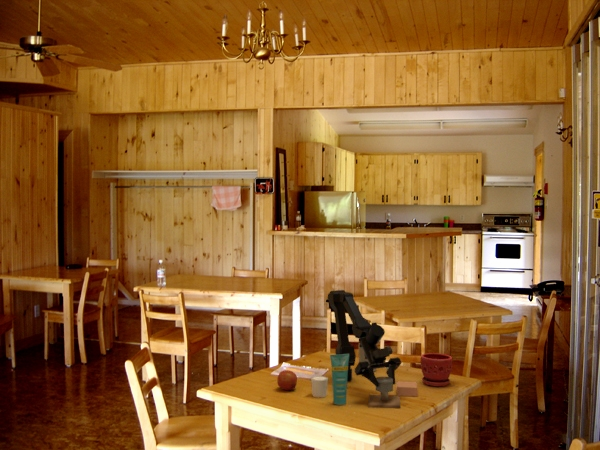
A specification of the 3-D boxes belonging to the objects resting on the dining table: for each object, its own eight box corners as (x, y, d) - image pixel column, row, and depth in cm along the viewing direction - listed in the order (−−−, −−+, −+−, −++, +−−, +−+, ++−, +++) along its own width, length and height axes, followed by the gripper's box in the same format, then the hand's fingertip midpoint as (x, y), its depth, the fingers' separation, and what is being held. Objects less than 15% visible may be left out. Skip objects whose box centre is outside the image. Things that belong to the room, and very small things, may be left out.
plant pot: (452, 388, 250) (452, 360, 249) (420, 387, 253) (420, 358, 252) (452, 380, 262) (452, 352, 262) (421, 378, 265) (421, 351, 265)
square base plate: (368, 406, 228) (368, 386, 228) (369, 397, 240) (369, 377, 240) (400, 408, 226) (400, 387, 226) (399, 398, 238) (399, 378, 238)
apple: (283, 385, 256) (283, 367, 256) (301, 388, 252) (301, 369, 252) (274, 390, 249) (274, 371, 249) (292, 393, 245) (291, 374, 245)
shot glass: (330, 393, 245) (330, 376, 245) (325, 398, 238) (325, 381, 238) (314, 392, 247) (313, 375, 247) (308, 397, 241) (308, 379, 240)
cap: (375, 392, 230) (375, 381, 230) (375, 386, 237) (375, 376, 237) (393, 392, 229) (393, 381, 229) (392, 387, 236) (392, 376, 236)
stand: (397, 395, 241) (397, 387, 241) (396, 389, 249) (396, 381, 249) (417, 396, 240) (417, 387, 240) (416, 390, 248) (416, 381, 248)
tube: (332, 406, 229) (332, 356, 229) (329, 402, 234) (328, 353, 234) (351, 404, 231) (350, 354, 231) (347, 400, 236) (346, 351, 235)
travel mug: (359, 367, 283) (359, 330, 283) (376, 368, 282) (376, 330, 281) (358, 372, 276) (357, 333, 275) (375, 373, 274) (375, 334, 273)
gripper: (358, 341, 232) (372, 377, 222) (398, 337, 240) (415, 371, 230) (348, 357, 240) (362, 392, 230) (388, 352, 247) (403, 386, 237)
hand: (386, 385), depth 232 cm, fingers closed on cap, 7 cm apart
